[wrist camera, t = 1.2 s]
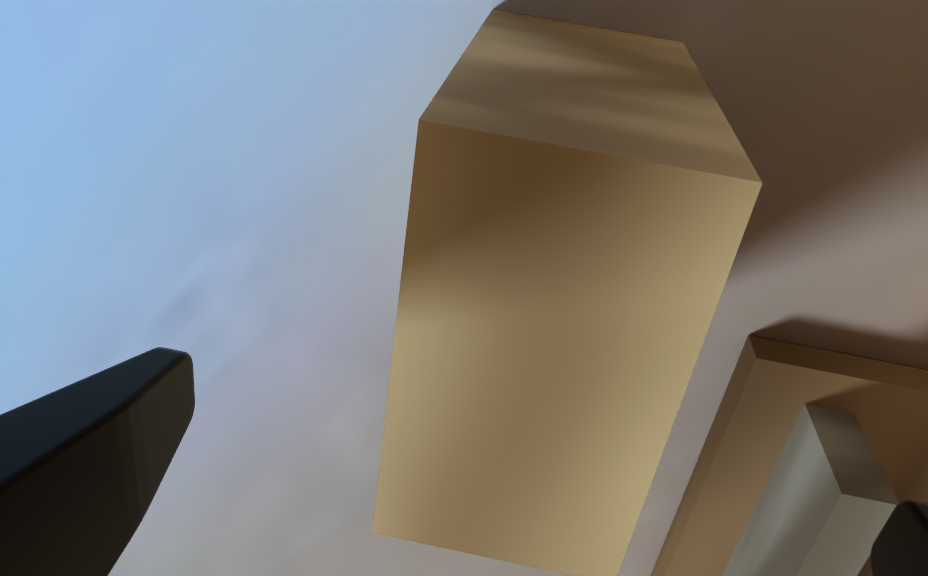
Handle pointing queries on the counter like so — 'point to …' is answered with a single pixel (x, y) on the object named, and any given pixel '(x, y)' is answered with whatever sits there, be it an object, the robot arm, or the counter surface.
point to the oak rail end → (554, 290)
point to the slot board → (801, 465)
